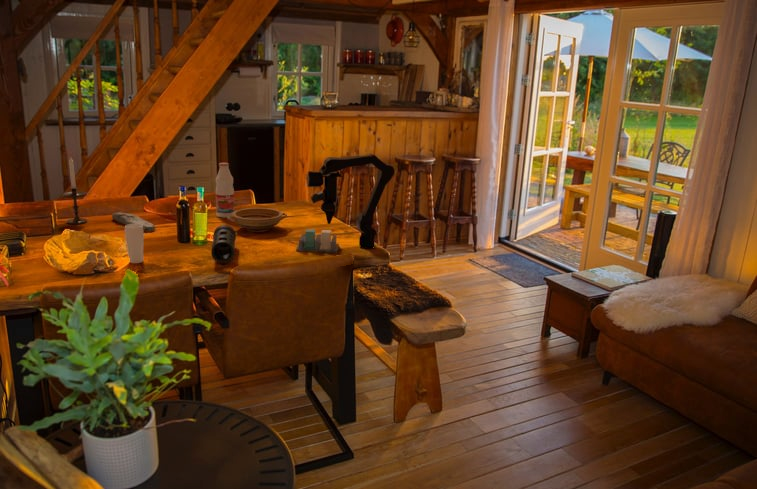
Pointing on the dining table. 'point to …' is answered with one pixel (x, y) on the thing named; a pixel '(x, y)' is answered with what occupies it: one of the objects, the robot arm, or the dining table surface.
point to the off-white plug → (325, 238)
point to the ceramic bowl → (257, 218)
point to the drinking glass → (134, 242)
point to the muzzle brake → (223, 244)
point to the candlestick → (74, 196)
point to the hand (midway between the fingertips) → (329, 221)
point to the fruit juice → (224, 192)
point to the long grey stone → (133, 221)
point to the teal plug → (309, 238)
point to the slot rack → (317, 245)
